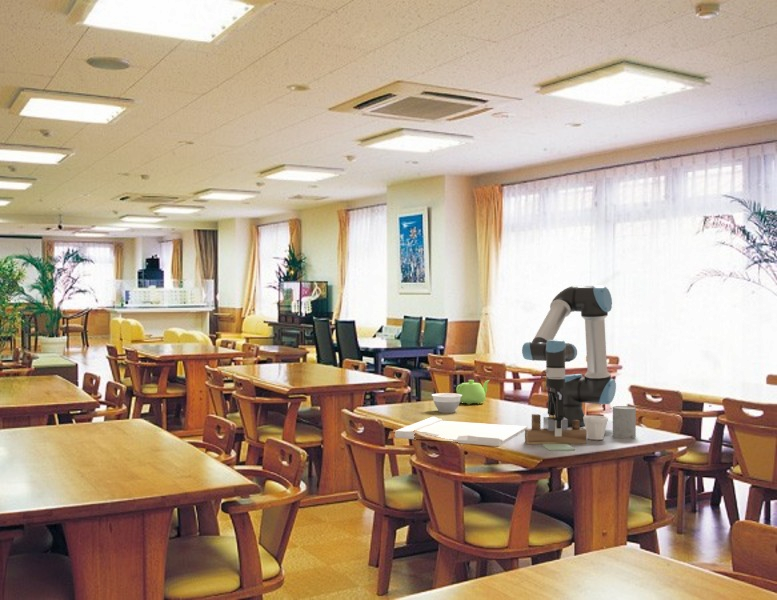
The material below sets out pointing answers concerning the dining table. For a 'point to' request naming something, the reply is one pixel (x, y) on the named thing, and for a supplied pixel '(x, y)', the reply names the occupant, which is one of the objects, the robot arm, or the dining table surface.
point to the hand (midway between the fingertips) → (555, 434)
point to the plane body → (548, 437)
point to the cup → (595, 426)
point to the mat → (557, 447)
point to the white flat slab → (462, 431)
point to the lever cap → (550, 423)
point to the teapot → (472, 392)
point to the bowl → (446, 401)
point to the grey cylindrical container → (624, 422)
